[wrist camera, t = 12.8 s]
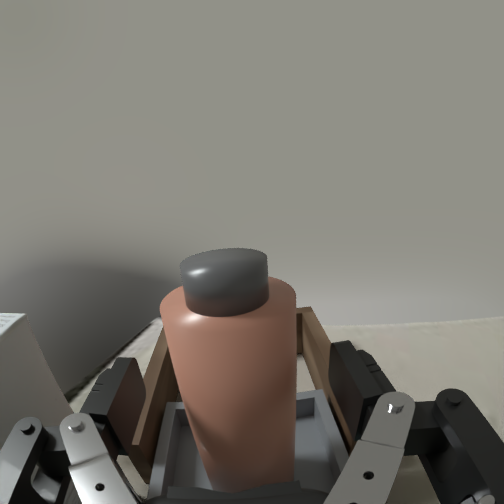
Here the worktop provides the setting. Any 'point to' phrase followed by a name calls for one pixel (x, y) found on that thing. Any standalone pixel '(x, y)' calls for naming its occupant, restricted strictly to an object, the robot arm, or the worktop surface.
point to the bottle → (236, 366)
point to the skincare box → (28, 385)
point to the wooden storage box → (166, 387)
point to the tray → (306, 448)
